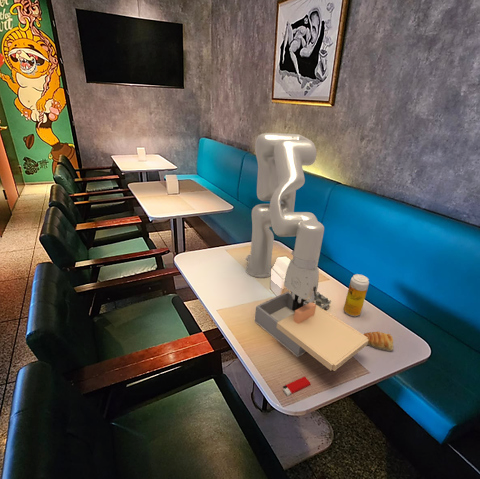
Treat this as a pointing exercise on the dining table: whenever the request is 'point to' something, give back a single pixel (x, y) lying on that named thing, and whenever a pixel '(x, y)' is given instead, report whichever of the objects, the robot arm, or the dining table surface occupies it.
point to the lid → (323, 335)
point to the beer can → (356, 295)
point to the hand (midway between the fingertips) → (296, 309)
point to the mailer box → (274, 313)
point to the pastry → (380, 340)
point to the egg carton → (321, 301)
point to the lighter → (296, 386)
